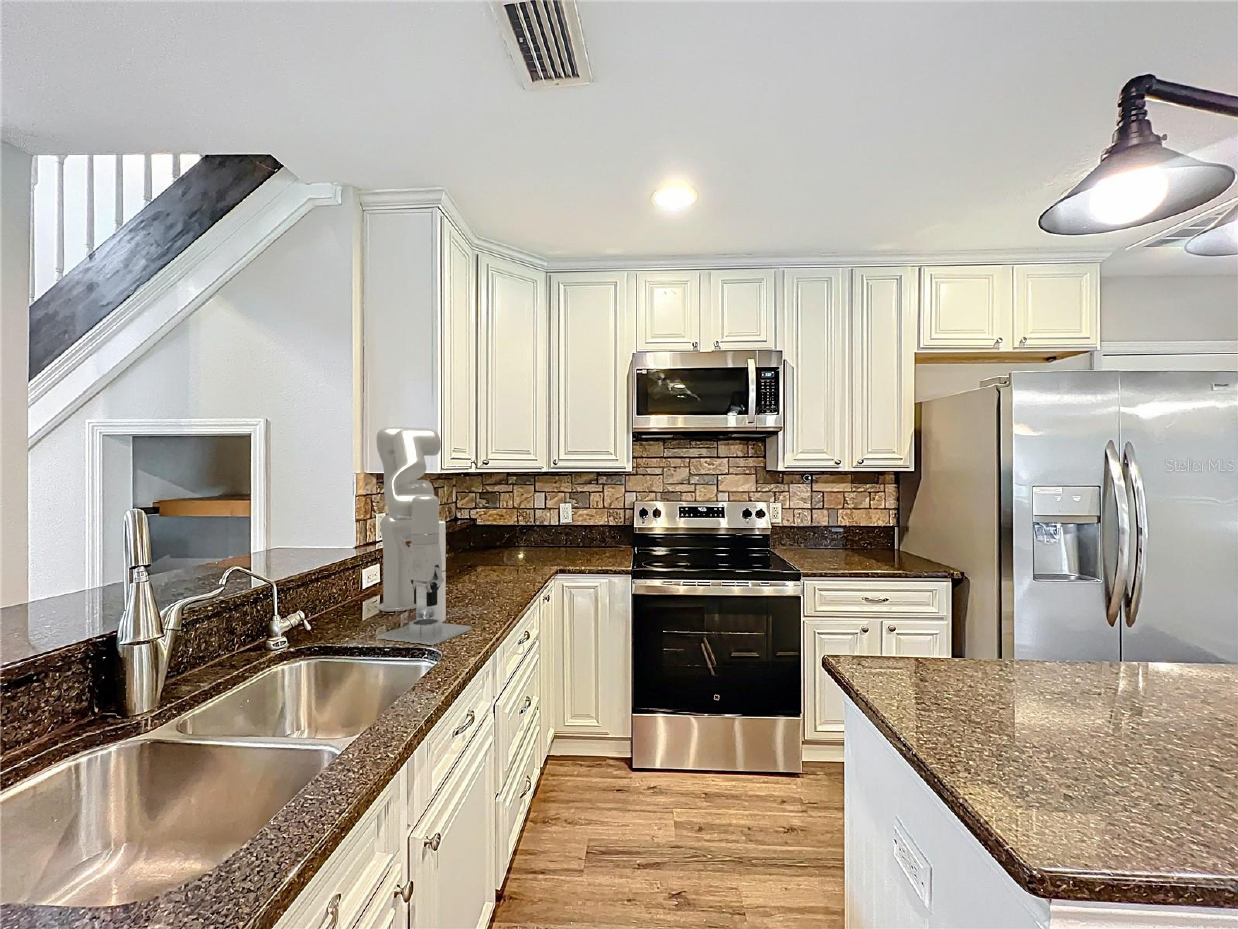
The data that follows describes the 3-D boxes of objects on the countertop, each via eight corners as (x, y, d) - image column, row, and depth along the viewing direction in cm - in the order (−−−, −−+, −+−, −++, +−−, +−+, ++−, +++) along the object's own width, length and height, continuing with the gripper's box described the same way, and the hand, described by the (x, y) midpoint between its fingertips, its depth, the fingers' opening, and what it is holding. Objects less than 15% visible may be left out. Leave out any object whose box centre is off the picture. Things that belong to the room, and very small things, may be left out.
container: (410, 622, 194) (410, 523, 194) (428, 616, 202) (428, 520, 202) (433, 624, 191) (433, 524, 191) (451, 618, 199) (451, 521, 199)
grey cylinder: (413, 615, 181) (413, 580, 181) (432, 613, 184) (431, 578, 184) (419, 619, 177) (418, 582, 177) (437, 616, 179) (437, 580, 179)
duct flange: (420, 624, 192) (420, 612, 192) (471, 629, 185) (471, 617, 185) (377, 639, 175) (377, 626, 175) (431, 646, 169) (431, 632, 169)
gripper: (395, 539, 182) (395, 603, 182) (433, 543, 172) (433, 610, 172) (418, 536, 188) (418, 598, 188) (455, 540, 178) (456, 606, 178)
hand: (425, 603), depth 180 cm, fingers closed on grey cylinder, 5 cm apart
